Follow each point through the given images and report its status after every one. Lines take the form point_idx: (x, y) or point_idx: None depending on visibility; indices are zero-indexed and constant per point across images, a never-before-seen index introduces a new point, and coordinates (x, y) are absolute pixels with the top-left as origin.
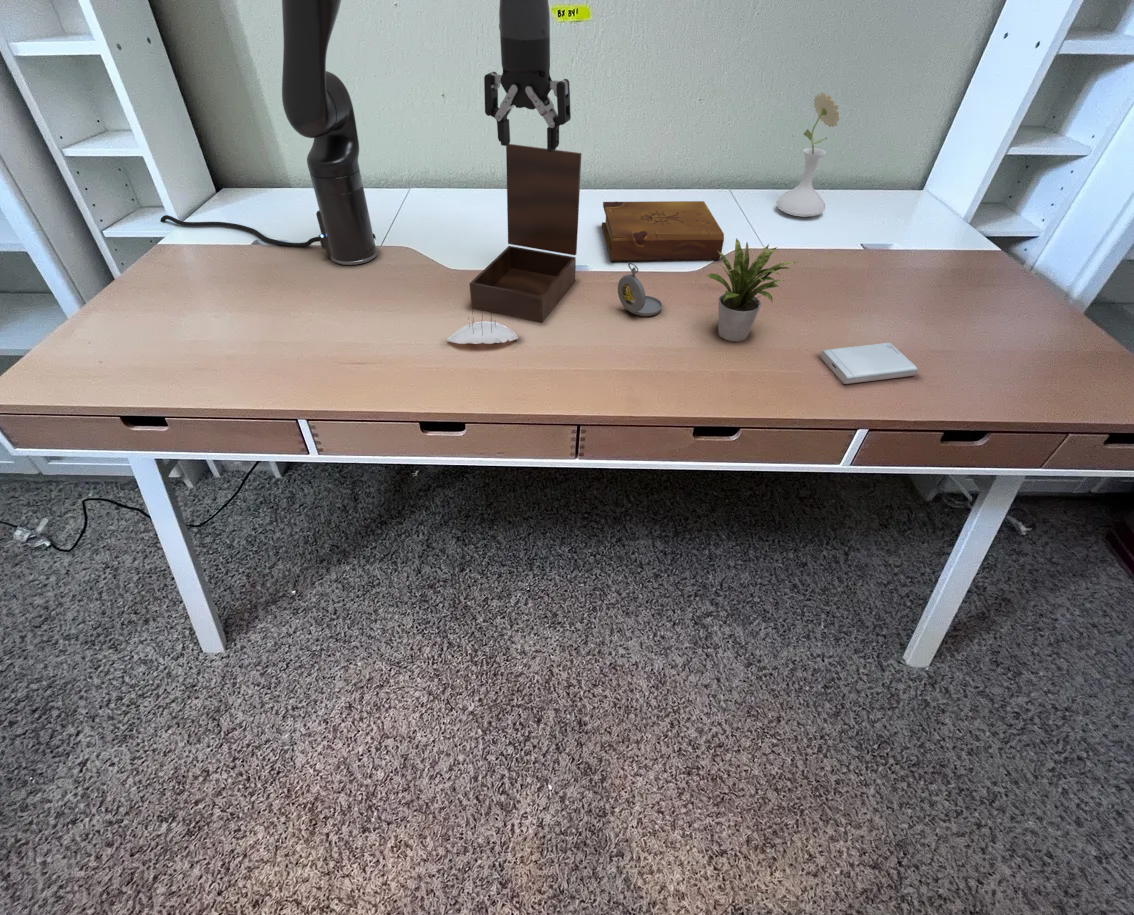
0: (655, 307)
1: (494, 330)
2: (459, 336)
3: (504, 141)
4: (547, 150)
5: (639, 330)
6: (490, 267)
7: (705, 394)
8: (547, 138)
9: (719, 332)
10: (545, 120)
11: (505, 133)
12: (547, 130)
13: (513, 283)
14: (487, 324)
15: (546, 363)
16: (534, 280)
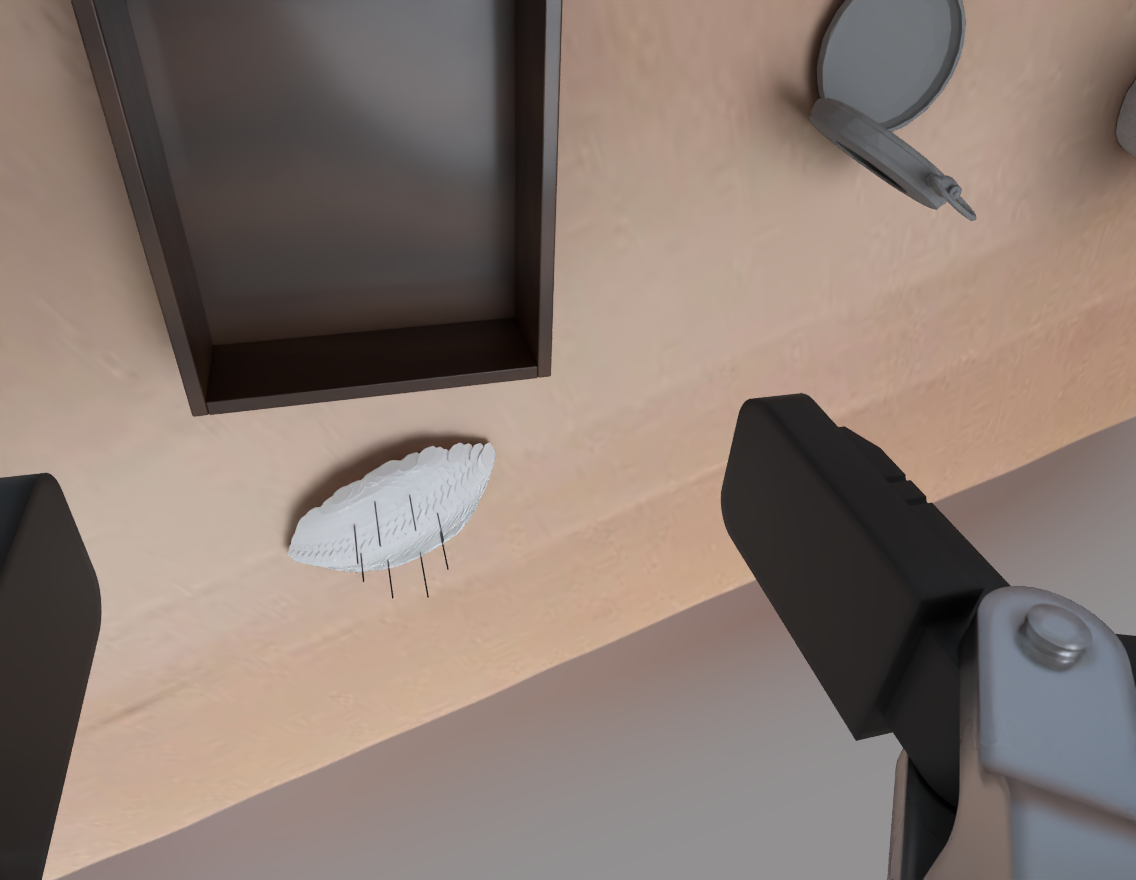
0: (930, 27)
1: (442, 522)
2: (340, 567)
3: (94, 651)
4: (726, 526)
5: (861, 216)
6: (157, 224)
7: (1005, 420)
8: (792, 630)
9: (1123, 139)
10: (895, 852)
11: (58, 707)
12: (844, 712)
13: (243, 90)
14: (412, 526)
15: (616, 491)
16: (329, 5)
